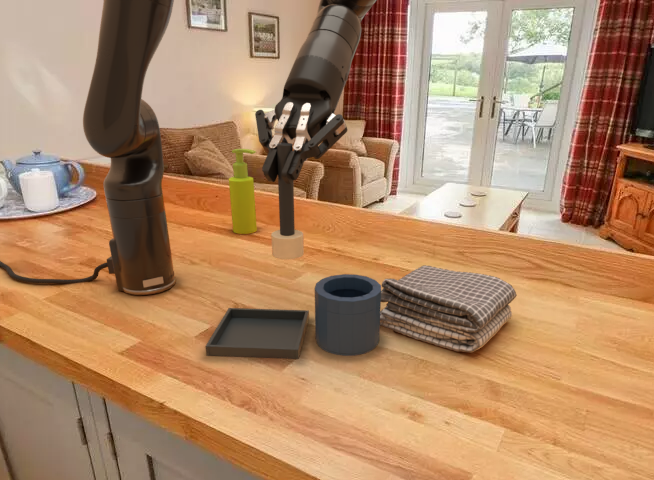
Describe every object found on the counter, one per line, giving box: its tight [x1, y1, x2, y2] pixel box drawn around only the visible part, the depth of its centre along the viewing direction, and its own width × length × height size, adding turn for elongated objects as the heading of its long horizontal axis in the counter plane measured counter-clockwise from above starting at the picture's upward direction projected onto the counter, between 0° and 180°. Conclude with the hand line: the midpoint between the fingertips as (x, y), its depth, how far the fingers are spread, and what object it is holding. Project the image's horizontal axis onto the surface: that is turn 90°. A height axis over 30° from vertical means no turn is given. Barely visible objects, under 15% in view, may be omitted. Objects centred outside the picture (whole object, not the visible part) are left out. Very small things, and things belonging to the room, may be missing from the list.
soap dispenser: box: [228, 148, 258, 235], centre depth 119 cm, size 6×7×20 cm
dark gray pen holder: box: [314, 273, 382, 357], centre depth 72 cm, size 9×9×9 cm
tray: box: [205, 307, 310, 360], centre depth 74 cm, size 13×12×2 cm
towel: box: [380, 265, 517, 353], centre depth 78 cm, size 15×18×8 cm
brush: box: [270, 143, 305, 261], centre depth 66 cm, size 4×4×15 cm
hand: (277, 178), depth 62 cm, fingers closed on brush, 2 cm apart
